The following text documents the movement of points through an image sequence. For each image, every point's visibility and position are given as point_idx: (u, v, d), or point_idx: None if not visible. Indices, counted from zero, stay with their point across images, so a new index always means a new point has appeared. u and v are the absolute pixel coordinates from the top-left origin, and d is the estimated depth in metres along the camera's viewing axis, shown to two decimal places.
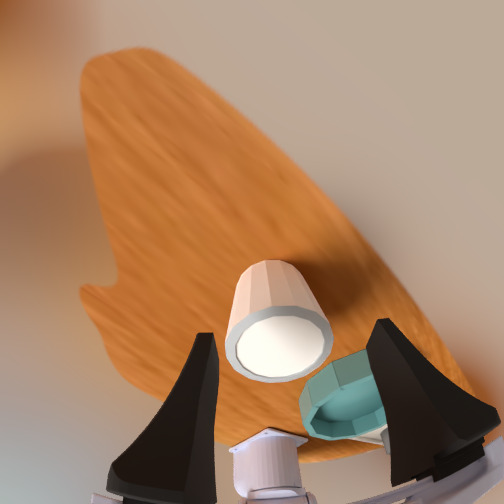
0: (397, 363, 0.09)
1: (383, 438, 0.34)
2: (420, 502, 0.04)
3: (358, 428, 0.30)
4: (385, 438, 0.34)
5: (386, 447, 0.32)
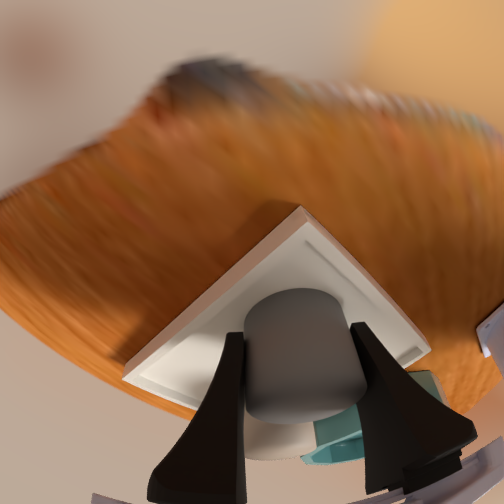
0: (369, 369, 0.09)
1: None
2: (420, 502, 0.04)
3: None
4: None
5: None
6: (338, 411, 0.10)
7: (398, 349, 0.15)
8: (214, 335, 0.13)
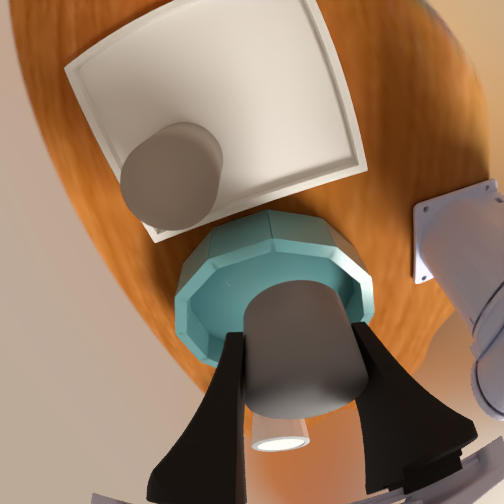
0: (370, 369, 0.09)
1: None
2: (420, 502, 0.04)
3: None
4: None
5: None
6: (340, 405, 0.10)
7: (333, 147, 0.15)
8: (183, 27, 0.11)
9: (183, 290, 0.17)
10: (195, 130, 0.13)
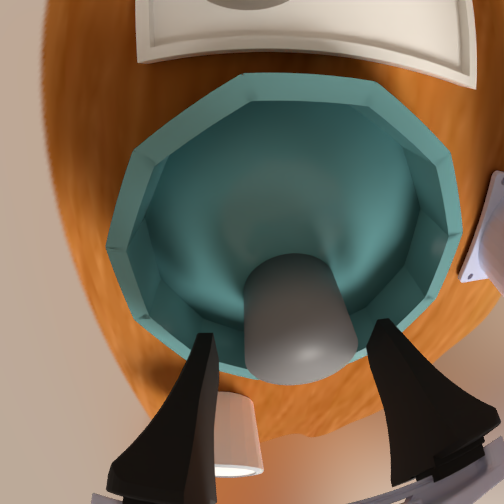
0: (397, 363, 0.09)
1: None
2: (420, 502, 0.04)
3: (414, 149, 0.08)
4: None
5: None
6: (332, 371, 0.11)
7: (444, 43, 0.07)
8: None
9: (157, 136, 0.07)
10: None
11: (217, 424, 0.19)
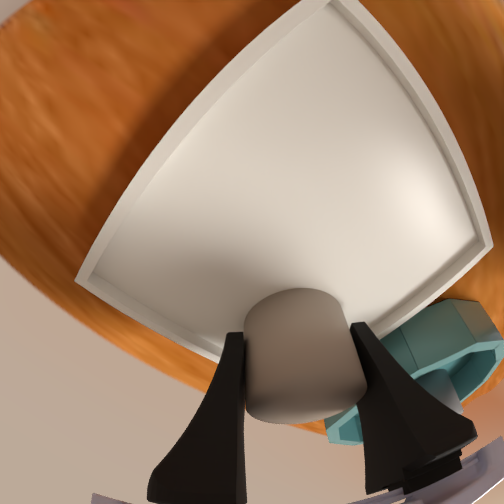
0: (369, 369, 0.09)
1: (452, 385, 0.16)
2: (420, 502, 0.04)
3: None
4: None
5: (460, 403, 0.14)
6: None
7: (457, 239, 0.10)
8: (209, 168, 0.08)
9: (334, 425, 0.14)
10: (307, 315, 0.10)
11: None
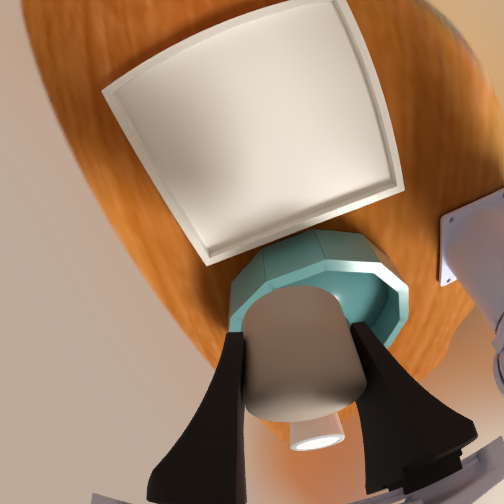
0: (370, 369, 0.09)
1: None
2: (420, 502, 0.04)
3: None
4: None
5: None
6: None
7: (374, 170, 0.16)
8: (231, 52, 0.12)
9: (239, 310, 0.18)
10: (306, 312, 0.10)
11: None
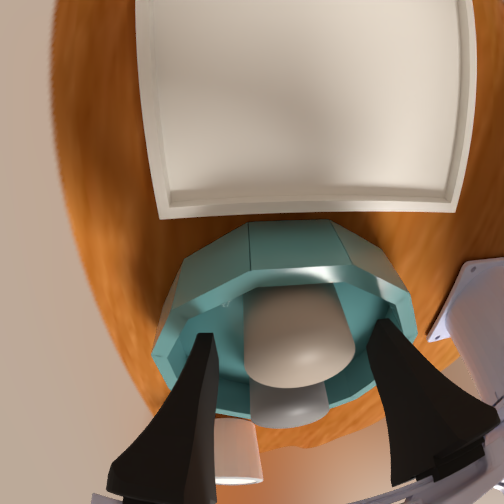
0: (397, 363, 0.09)
1: None
2: (420, 502, 0.04)
3: None
4: None
5: None
6: (312, 421, 0.15)
7: (433, 173, 0.11)
8: None
9: (189, 304, 0.11)
10: None
11: (226, 445, 0.23)
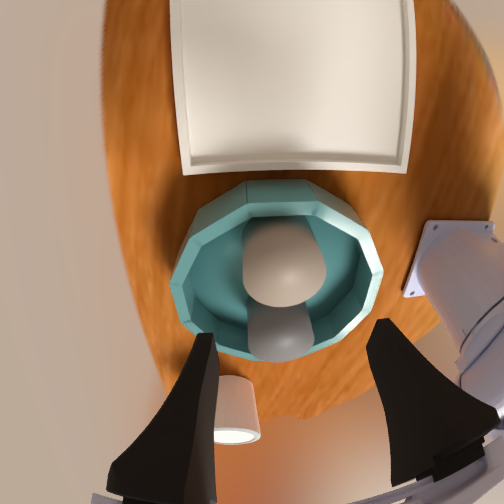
0: (397, 363, 0.09)
1: None
2: (420, 502, 0.04)
3: None
4: None
5: None
6: (301, 354, 0.20)
7: (384, 143, 0.15)
8: None
9: (203, 232, 0.15)
10: (282, 218, 0.16)
11: (226, 398, 0.27)
